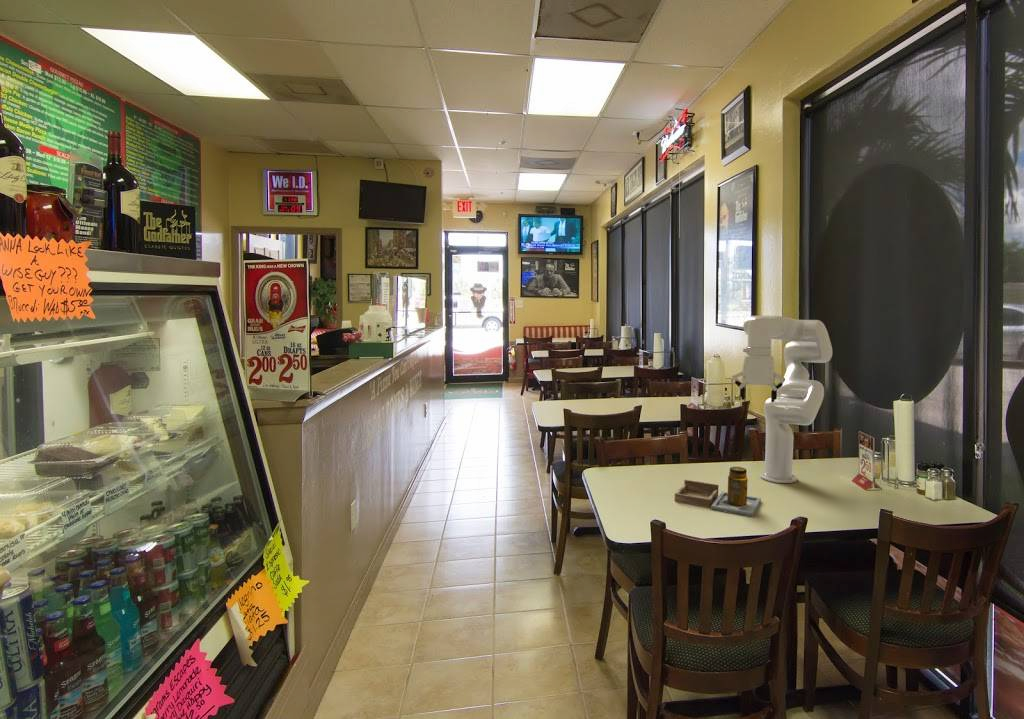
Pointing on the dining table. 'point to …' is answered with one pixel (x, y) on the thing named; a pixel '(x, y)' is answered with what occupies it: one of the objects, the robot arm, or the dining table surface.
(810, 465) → the dining table surface
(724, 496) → the tray
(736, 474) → the condiment
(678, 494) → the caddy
